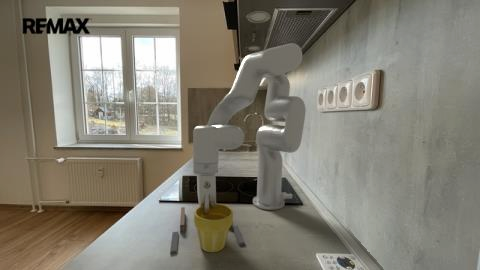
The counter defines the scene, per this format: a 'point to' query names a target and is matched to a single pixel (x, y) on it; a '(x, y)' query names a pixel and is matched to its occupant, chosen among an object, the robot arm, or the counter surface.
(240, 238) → the rubber strips
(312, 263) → the counter surface
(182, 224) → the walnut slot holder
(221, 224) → the plant pot
